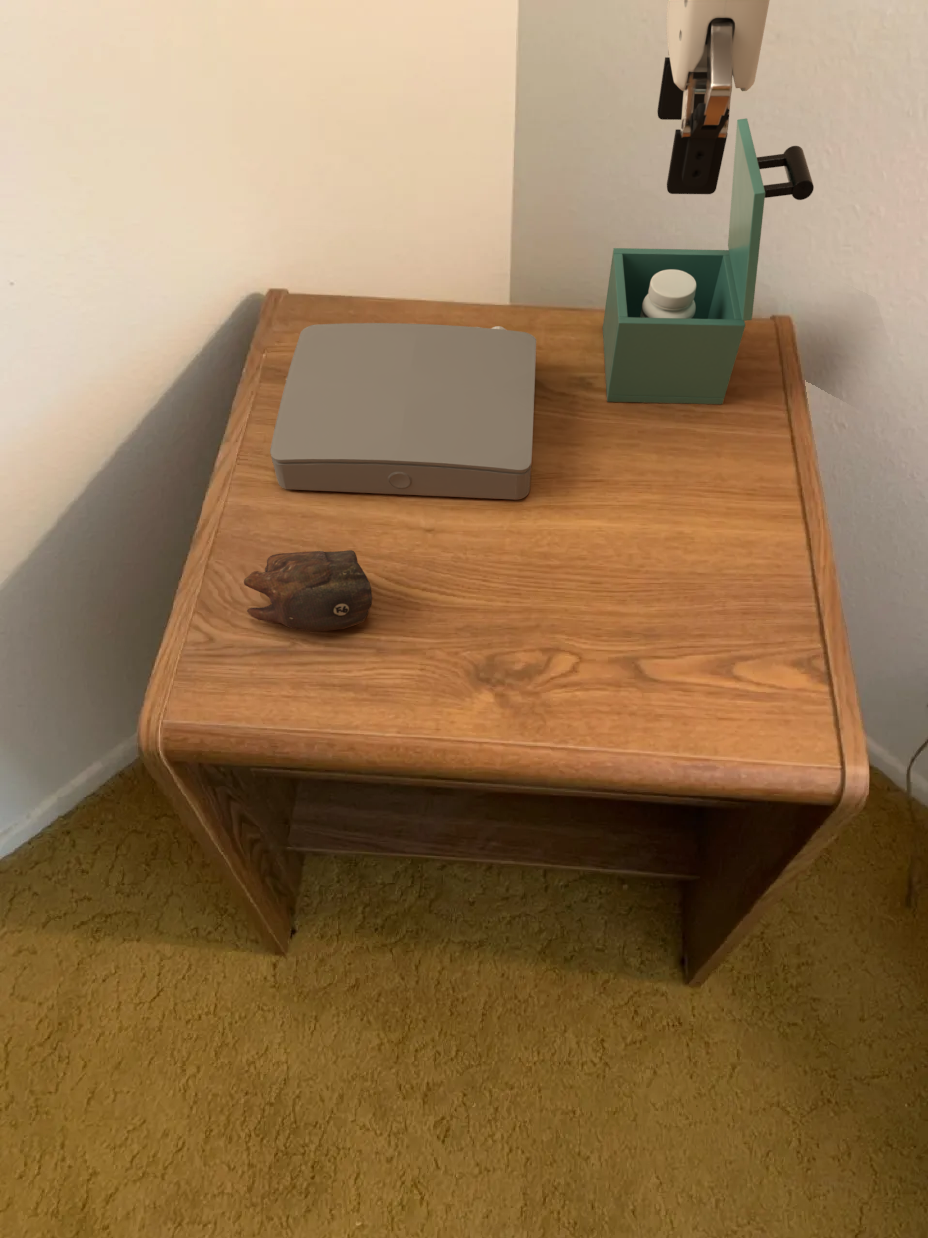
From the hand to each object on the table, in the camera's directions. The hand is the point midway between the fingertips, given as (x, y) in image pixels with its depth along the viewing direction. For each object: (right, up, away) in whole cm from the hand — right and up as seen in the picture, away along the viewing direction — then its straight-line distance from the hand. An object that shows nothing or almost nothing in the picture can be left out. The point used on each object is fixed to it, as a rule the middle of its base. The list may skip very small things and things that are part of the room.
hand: (684, 152), depth 64 cm
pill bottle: (+3, -8, +23) cm, 25 cm away
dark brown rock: (-27, -32, +8) cm, 42 cm away
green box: (+3, -8, +24) cm, 25 cm away
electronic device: (-20, -14, +20) cm, 32 cm away
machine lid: (+7, 0, +11) cm, 13 cm away
